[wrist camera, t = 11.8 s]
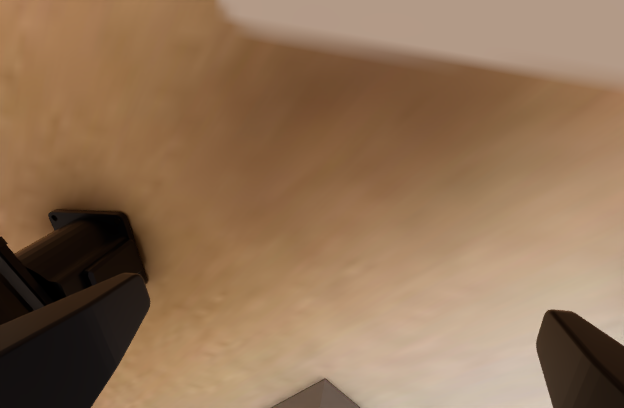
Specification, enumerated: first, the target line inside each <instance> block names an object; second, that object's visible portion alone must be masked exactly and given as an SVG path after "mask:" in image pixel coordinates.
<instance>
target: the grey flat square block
mask: <svg viewBox="0 0 624 408" xmlns="http://www.w3.org/2000/svg"><path fill="white" fill-rule="evenodd" d="M272 408H360V407H358V406H357V405H356V404H355V403H354V402H352V401H351V400H350V399H349V398H348V397H346V396H345V395H344V394H343V393H342V392H340V391H339V390H338V389H337V388H336V387H334V386H333V385H332V384H331V383H330V382H329V381H327V380H326V379H324V380H322V381H320V382H318V383H316V384H315V385H313V386H311V387H309V388H307V389H305V390H304V391H302V392H300V393H298V394H296V395H294V396H293V397H291V398H289V399H287V400H285V401H283V402H282V403H280V404H278V405H276V406H274V407H272Z"/></svg>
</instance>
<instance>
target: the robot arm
mask: <svg viewBox="0 0 624 408" xmlns="http://www.w3.org/2000/svg"><path fill="white" fill-rule="evenodd" d="M48 216H49V219H50V221H51V224H52V226H53V228H54V230H55V231H54V232H52V233H50V234H48V235H47V236H45V237H43V238H41V239H39V240H38V241H36V242H34V243H32V244H31V245H29V246H27V247H25V248H24V249H22V250H20V251H18V252H16V253H15V254H14V253H13V252H12V251H11V250H10V249H9V248H8V246H7V245H6V244H8V243H7V242H6V241H5V240H4V239H3V238H2V236H1V237H0V408H91V406H92V405H93V403H94V402H95V400H96V399H97V397H98V396H99V394H100V393H101V391H102V390H103V388H104V387H105V385H106V384H107V382H108V381H109V379H110V378H111V376H112V375H113V373H114V371H115V370H116V368H117V367H118V365H119V363H120V361H121V360H122V358H123V356H124V354H125V352H126V351H127V349H128V347H129V345H130V343H131V341H132V339H133V338H134V336H135V334H136V332H137V330H138V328H139V327H140V325H141V323H142V321H143V319H144V317H145V316H146V314H147V312H148V310H149V307H150V297H149V294H148V291H147V288H146V284H147V278H146V275H145V272H144V269H143V266H142V262H141V259H140V256H139V253H138V250H137V247H136V244H135V241H134V238H133V235H132V232H131V229H130V225H129V222H128V219H127V217H126V216H125V215H124V214H123V213H120V212H101V211H78V210H54V211H52V212H50V213H49V215H48ZM119 219H120V220H119ZM536 348H537V353H538V357H539V360H540V364H541V367H542V371H543V374H544V378H545V381H546V385H547V388H548V391H549V395H550V398H551V402H552V405H553V408H624V346H623V345H622V344H620V343H619V342H617V341H616V340H614V339H613V338H611V337H610V336H608V335H607V334H605V333H604V332H602V331H601V330H599V329H598V328H597V327H595V326H594V325H592V324H591V323H589V322H588V321H586V320H585V319H583V318H582V317H580V316H579V315H577V314H576V313H574V312H571V311H564V310H548V311H547V312H546V313H545V315H544V317H543V321H542V324H541V327H540V330H539V334H538V337H537V341H536Z"/></svg>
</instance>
